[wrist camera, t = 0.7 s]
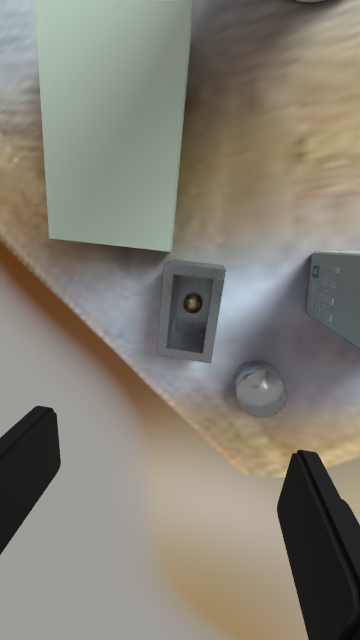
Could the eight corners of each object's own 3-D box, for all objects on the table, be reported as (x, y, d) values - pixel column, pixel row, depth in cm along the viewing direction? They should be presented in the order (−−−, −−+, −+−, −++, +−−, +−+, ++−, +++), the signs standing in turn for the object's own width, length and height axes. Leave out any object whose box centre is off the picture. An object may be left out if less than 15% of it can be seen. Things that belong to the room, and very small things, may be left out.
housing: (174, 259, 29) (164, 262, 23) (222, 265, 29) (225, 269, 22) (168, 333, 32) (156, 354, 26) (211, 339, 32) (210, 363, 25)
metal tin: (237, 357, 32) (241, 371, 28) (282, 364, 32) (292, 379, 28) (230, 394, 34) (233, 412, 30) (272, 401, 33) (280, 420, 30)
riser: (62, 38, 24) (34, -1, 21) (195, 41, 23) (192, 0, 19) (69, 239, 30) (49, 238, 26) (175, 251, 29) (170, 251, 25)
